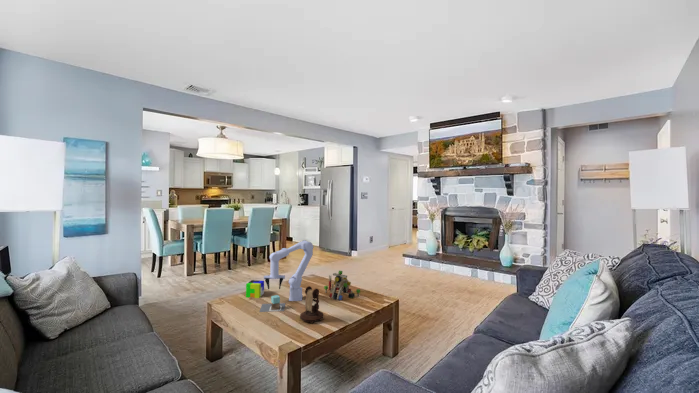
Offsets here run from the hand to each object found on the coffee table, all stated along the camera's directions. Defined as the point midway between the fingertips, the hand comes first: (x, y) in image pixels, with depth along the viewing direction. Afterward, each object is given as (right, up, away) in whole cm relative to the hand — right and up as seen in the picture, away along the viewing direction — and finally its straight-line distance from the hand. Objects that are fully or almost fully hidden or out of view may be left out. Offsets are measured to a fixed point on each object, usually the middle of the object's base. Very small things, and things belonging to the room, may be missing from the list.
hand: (274, 288), depth 216 cm
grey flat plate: (+1, -11, -9) cm, 14 cm away
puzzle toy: (-18, -10, +16) cm, 26 cm away
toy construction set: (+45, -11, +20) cm, 51 cm away
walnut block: (+4, -10, -10) cm, 15 cm away
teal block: (+3, -6, -10) cm, 12 cm away
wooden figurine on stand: (+30, -12, -25) cm, 40 cm away
